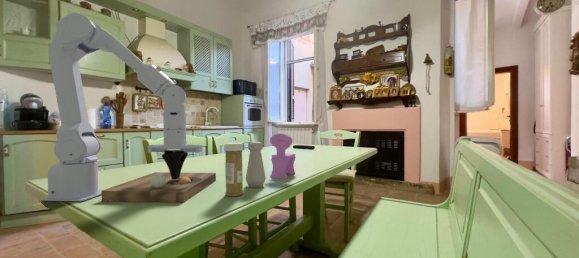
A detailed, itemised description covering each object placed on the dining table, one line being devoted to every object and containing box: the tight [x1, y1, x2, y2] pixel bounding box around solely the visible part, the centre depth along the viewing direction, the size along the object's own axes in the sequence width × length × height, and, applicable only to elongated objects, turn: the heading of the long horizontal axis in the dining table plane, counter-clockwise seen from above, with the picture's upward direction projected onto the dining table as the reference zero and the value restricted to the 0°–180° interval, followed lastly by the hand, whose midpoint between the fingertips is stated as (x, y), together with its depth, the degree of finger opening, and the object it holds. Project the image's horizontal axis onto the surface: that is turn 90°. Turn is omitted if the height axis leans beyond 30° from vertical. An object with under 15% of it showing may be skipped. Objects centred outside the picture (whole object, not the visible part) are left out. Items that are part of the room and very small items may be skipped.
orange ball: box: [178, 177, 191, 183], centre depth 70 cm, size 4×4×4 cm
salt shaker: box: [245, 141, 267, 188], centre depth 74 cm, size 6×6×13 cm
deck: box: [101, 171, 217, 203], centre depth 71 cm, size 20×22×2 cm
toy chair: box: [269, 132, 296, 180], centre depth 89 cm, size 8×9×15 cm
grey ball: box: [150, 174, 166, 188], centre depth 62 cm, size 4×4×4 cm
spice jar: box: [224, 141, 244, 197], centre depth 66 cm, size 5×5×14 cm
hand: (175, 178), depth 70 cm, fingers closed
